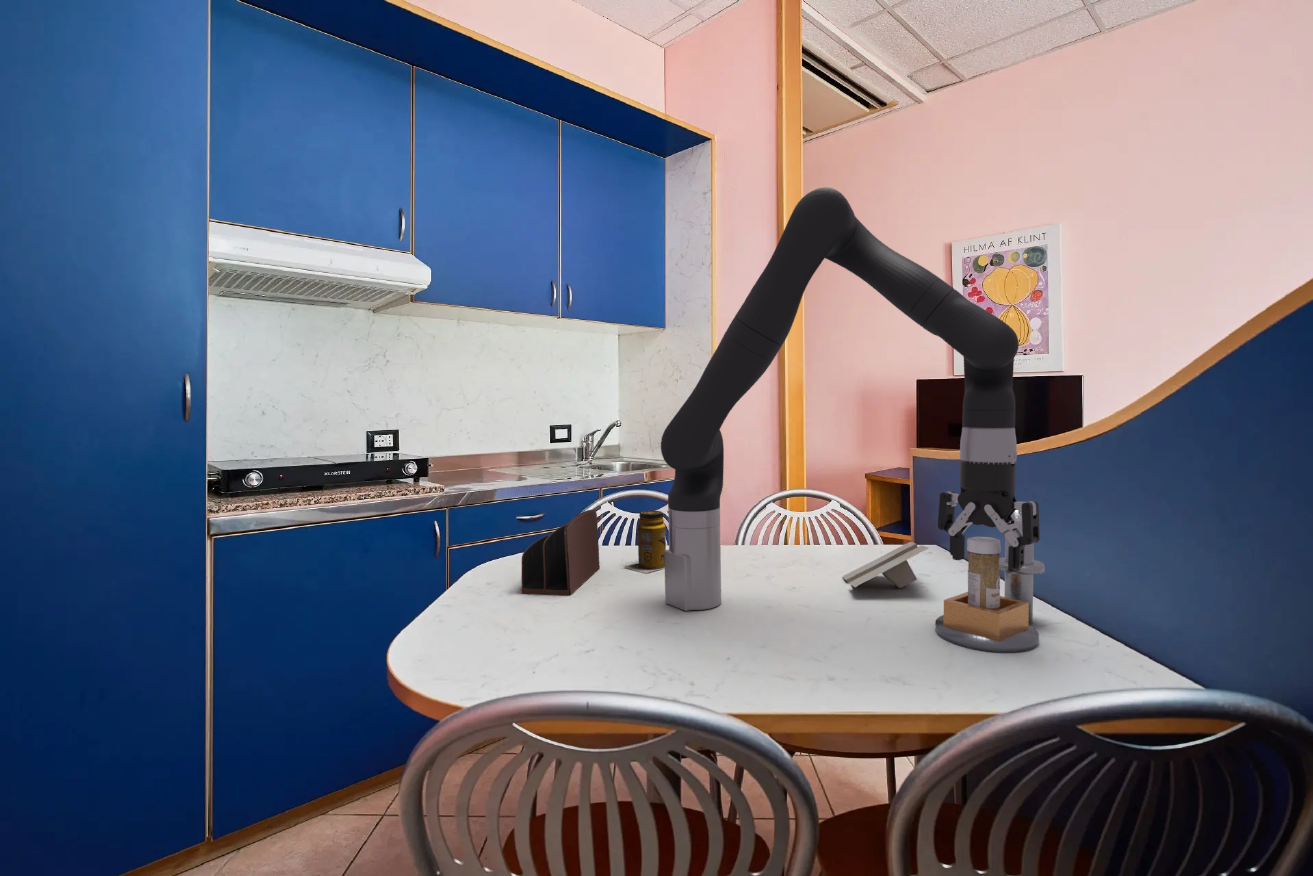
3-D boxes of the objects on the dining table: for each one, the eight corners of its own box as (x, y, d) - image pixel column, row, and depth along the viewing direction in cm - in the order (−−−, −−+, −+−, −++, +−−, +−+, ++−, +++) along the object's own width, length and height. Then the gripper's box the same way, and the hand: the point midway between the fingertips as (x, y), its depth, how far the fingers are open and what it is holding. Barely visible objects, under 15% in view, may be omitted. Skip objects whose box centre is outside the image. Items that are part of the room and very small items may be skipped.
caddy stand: (1008, 660, 91) (1010, 530, 90) (916, 632, 102) (917, 516, 101) (1075, 628, 103) (1078, 512, 102) (986, 606, 114) (987, 502, 113)
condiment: (674, 566, 145) (673, 511, 145) (646, 574, 140) (645, 517, 139) (651, 560, 151) (650, 508, 150) (623, 568, 145) (622, 513, 144)
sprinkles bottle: (1003, 632, 98) (1003, 542, 97) (969, 630, 99) (969, 541, 99) (997, 623, 102) (997, 536, 102) (965, 620, 104) (965, 535, 103)
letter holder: (600, 569, 144) (598, 505, 143) (570, 597, 125) (568, 522, 124) (556, 568, 146) (554, 504, 145) (520, 595, 127) (518, 521, 126)
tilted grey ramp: (888, 625, 117) (952, 569, 117) (853, 587, 119) (916, 531, 118) (871, 610, 134) (928, 560, 133) (841, 576, 135) (897, 527, 134)
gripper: (929, 456, 103) (927, 559, 104) (1024, 463, 91) (1021, 579, 92) (956, 453, 107) (954, 552, 108) (1050, 459, 95) (1047, 571, 97)
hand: (985, 565), depth 100 cm, fingers open, 8 cm apart
